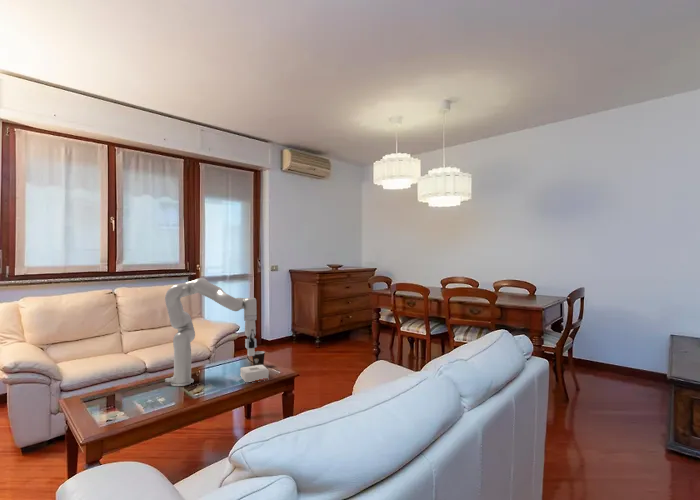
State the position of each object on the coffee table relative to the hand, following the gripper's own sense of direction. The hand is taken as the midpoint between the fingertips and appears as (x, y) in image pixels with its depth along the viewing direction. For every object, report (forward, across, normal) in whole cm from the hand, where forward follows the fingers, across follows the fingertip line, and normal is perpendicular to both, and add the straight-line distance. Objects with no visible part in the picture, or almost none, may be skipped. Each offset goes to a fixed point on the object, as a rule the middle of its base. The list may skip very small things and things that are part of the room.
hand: (250, 346), depth 225 cm
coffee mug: (+20, -26, +10) cm, 34 cm away
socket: (+20, -1, +2) cm, 20 cm away
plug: (+5, 0, 0) cm, 5 cm away
